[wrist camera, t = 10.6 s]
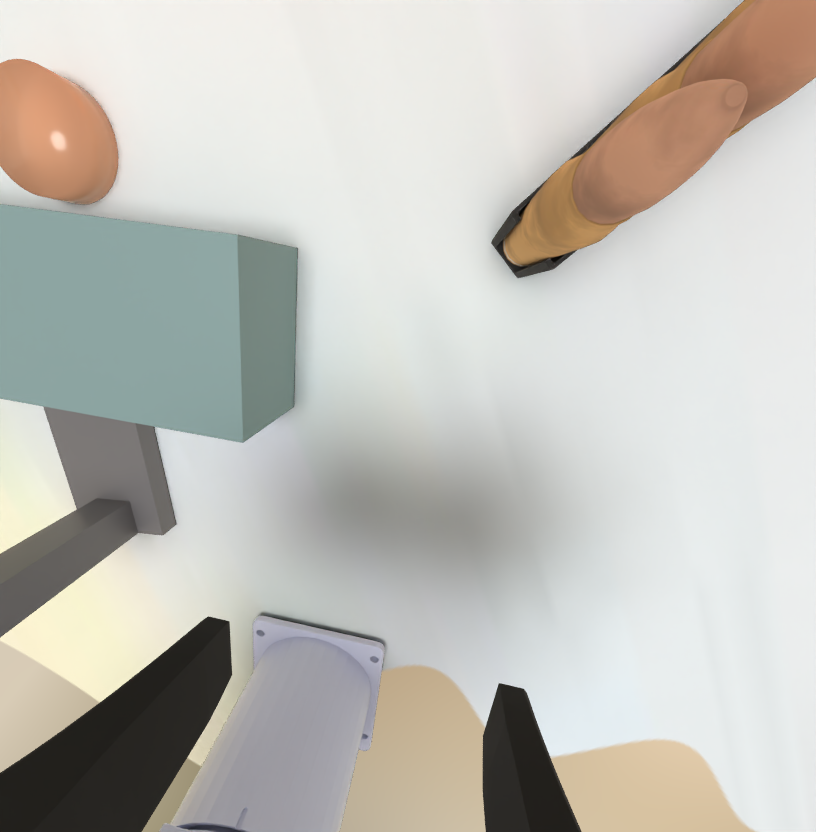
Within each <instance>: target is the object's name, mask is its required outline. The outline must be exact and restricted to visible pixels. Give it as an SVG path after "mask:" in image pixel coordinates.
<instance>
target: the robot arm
mask: <svg viewBox="0 0 816 832" xmlns="http://www.w3.org/2000/svg"><path fill="white" fill-rule="evenodd" d="M253 652H254V671H253V673H252V675H251V677H250V679H249V681H248V682H247V684H246V686H245V688H244V690H243V692H242V693H241V695H240V697H239V699H238V701H237V703H236V704H235V706H234V708H233V710H232V712H231V713H230V715H229V717H228V719H227V721H226V723H225V724H224V726H223V728H222V730H221V732H220V734H219V735H218V737H217V739H216V741H215V743H214V745H213V746H212V748H211V750H210V752H209V754H208V755H207V757H206V759H205V761H204V763H203V765H202V766H201V768H200V770H199V772H198V774H197V776H196V778H195V779H194V781H193V783H192V785H191V787H190V788H189V790H188V792H187V794H186V796H185V797H184V799H183V801H182V803H181V805H180V807H179V809H178V810H177V812H176V814H175V816H174V818H173V820H172V821H171V823H170V824H167V823H165V824H163V825H162V827H161V829H160V831H159V832H340V829H341V824H342V820H343V815H344V811H345V807H346V802H347V798H348V793H349V789H350V785H351V781H352V776H353V771H354V768H355V763H356V759H357V754H358V750H363V751H367V750H369V749H370V746H371V742H372V735H373V728H374V721H375V714H376V707H377V699H378V693H379V686H380V679H381V672H382V665H383V659H384V652H385V647H384V646H383V644H381V643H380V642H377V641H373V640H369V639H364V638H360V637H355V636H351V635H346V634H342V633H337V632H333V631H329V630H324V629H320V628H315V627H311V626H306V625H302V624H298V623H293V622H289V621H284V620H280V619H275V618H271V617H267V616H258V617H257V618H256V619H255V621H254V622H253ZM231 676H232V665H231V645H230V625H229V621H225V620H221V619H217V618H212V617H207V618H205V619H204V620H203V621H201V622H200V623H199V624H198V625H197V626H195V627H194V628H193V629H192V630H190V631H189V632H188V633H187V634H186V635H184V636H183V637H182V638H181V639H180V640H178V641H177V642H176V643H175V644H174V645H172V646H171V647H170V648H169V649H167V650H166V651H165V652H164V653H163V654H161V655H160V656H159V657H158V658H156V659H155V660H154V661H153V662H151V663H150V664H149V665H148V666H146V667H145V668H144V669H143V670H141V671H140V672H139V673H138V674H136V675H135V676H134V677H133V678H131V679H130V680H129V681H127V682H126V683H125V684H124V685H122V686H121V687H120V688H119V689H117V690H116V691H115V692H113V693H112V694H111V695H109V696H108V697H107V698H106V699H104V700H103V701H102V702H100V703H99V704H98V705H96V706H95V707H93V708H92V709H91V710H89V711H88V712H87V713H85V714H84V715H83V716H81V717H80V718H79V719H77V720H76V721H74V722H73V723H72V724H70V725H69V726H68V727H66V728H65V729H64V730H62V731H61V732H59V733H58V734H57V735H55V736H54V737H52V738H51V739H50V740H48V741H47V742H45V743H44V744H42V745H41V746H39V747H38V748H37V749H35V750H34V751H32V752H31V753H29V754H28V755H26V756H25V757H23V758H22V759H21V760H19V761H17V762H16V763H14V764H13V765H11V766H10V767H9V768H7V769H6V770H4V771H2V772H1V773H0V832H142V830H143V828H144V827H145V825H146V824H147V822H148V820H149V819H150V817H151V815H152V814H153V812H154V811H155V809H156V807H157V806H158V804H159V802H160V801H161V799H162V798H163V796H164V794H165V793H166V791H167V789H168V788H169V786H170V784H171V783H172V781H173V779H174V778H175V776H176V775H177V773H178V771H179V770H180V768H181V767H182V765H183V763H184V762H185V760H186V759H187V757H188V755H189V754H190V752H191V750H192V749H193V747H194V745H195V744H196V742H197V740H198V739H199V737H200V735H201V734H202V732H203V731H204V729H205V727H206V725H207V724H208V722H209V720H210V719H211V717H212V715H213V713H214V711H215V709H216V707H217V705H218V703H219V701H220V699H221V697H222V695H223V693H224V690H225V688H226V686H227V684H228V682H229V680H230V678H231ZM483 800H484V812H485V813H484V814H485V826H486V832H581V830H580V827H579V825H578V823H577V820H576V818H575V816H574V813H573V811H572V809H571V807H570V804H569V802H568V799H567V797H566V795H565V792H564V790H563V788H562V785H561V783H560V781H559V778H558V776H557V773H556V771H555V769H554V766H553V763H552V761H551V758H550V756H549V753H548V751H547V748H546V745H545V743H544V740H543V738H542V735H541V732H540V730H539V727H538V724H537V721H536V719H535V716H534V713H533V710H532V707H531V704H530V701H529V698H528V695H527V693H526V691H525V690H524V689H522V688H518V687H513V686H509V685H505V684H500V683H499V685H498V688H497V691H496V695H495V698H494V701H493V705H492V708H491V711H490V715H489V718H488V721H487V724H486V728H485V731H484V735H483Z"/></svg>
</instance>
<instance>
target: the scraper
mask: <svg viewBox="0 0 816 832" xmlns="http://www.w3.org/2000/svg"><path fill="white" fill-rule="evenodd" d="M43 407H44V406H43ZM44 410H45V413H46V416H47V419H48V422H49V425H50V428H51V431H52V434H53V437H54V440H55V444H56V447H57V450H58V453H59V456H60V459H61V462H62V465H63V468H64V471H65V474H66V477H67V480H68V483H69V486H70V489H71V493H72V496H73V499H74V502H75V505H76V508H77V510H76V511H74V512H72V513H70V514H69V515H67V516H65V517H63V518H62V519H60V520H58V521H56V522H55V523H53V524H51V525H50V526H48V527H46V528H44V529H43V530H41V531H39V532H37V533H36V534H34V535H32V536H30V537H29V538H27V539H25V540H24V541H22V542H20V543H18V544H17V545H15V546H13V547H11V548H10V549H8V550H6V551H4V552H3V553H1V554H0V637H1V636H3V635H4V634H5V633H7V632H8V631H9V630H11V629H12V628H13V627H15V626H16V625H17V624H18V623H20V622H21V621H22V620H24V619H25V618H26V617H28V616H29V615H30V614H32V613H33V612H34V611H36V610H37V609H38V608H40V607H41V606H42V605H44V604H45V603H46V602H48V601H49V600H50V599H52V598H53V597H54V596H56V595H57V594H58V593H59V592H61V591H62V590H63V589H65V588H66V587H67V586H69V585H70V584H71V583H73V582H74V581H75V580H77V579H78V578H79V577H81V576H82V575H83V574H85V573H86V572H87V571H89V570H90V569H91V568H93V567H94V566H95V565H96V564H98V563H99V562H100V561H102V560H103V559H104V558H106V557H107V556H108V555H110V554H111V553H112V552H114V551H115V550H116V549H118V548H119V547H120V546H122V545H123V544H124V543H126V542H127V541H128V540H130V539H131V538H132V537H133V536H135V535H136V534H137V533H145V534H154V535H164V534H165V533H166V532H168V531H169V530H170V529H171V528H173V527H174V526H175V525H176V522H175V518H174V513H173V509H172V505H171V500H170V496H169V492H168V487H167V483H166V478H165V474H164V470H163V465H162V461H161V457H160V452H159V448H158V444H157V439H156V435H155V431H154V426H148V425H143V424H137V423H132V422H126V421H121V420H115V419H110V418H104V417H99V416H94V415H88V414H83V413H77V412H72V411H66V410H61V409H55V408H50V407H44Z"/></svg>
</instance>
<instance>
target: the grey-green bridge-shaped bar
mask: <svg viewBox="0 0 816 832" xmlns="http://www.w3.org/2000/svg"><path fill="white" fill-rule="evenodd" d="M296 286H297V248H294V247H290V246H285V245H281V244H277V243H272V242H268V241H263V240H259V239H254V238H250V237H245V236H241V235H236V234H228V233H220V232H212V231H205V230H197V229H189V228H181V227H174V226H166V225H158V224H150V223H143V222H135V221H127V220H119V219H112V218H104V217H96V216H88V215H81V214H73V213H65V212H57V211H50V210H42V209H34V208H26V207H19V206H11V205H3V204H0V399H6V400H11V401H17V402H22V403H28V404H33V405H39V406H44V407H50V408H55V409H61V410H66V411H72V412H77V413H83V414H88V415H94V416H99V417H104V418H110V419H115V420H121V421H126V422H132V423H137V424H143V425H148V426H154V427H159V428H165V429H170V430H176V431H181V432H187V433H192V434H198V435H203V436H209V437H214V438H220V439H225V440H231V441H236V442H242V443H243V442H245V441H246V440H248V439H249V438H250V437H252V436H253V435H255V434H256V433H257V432H259V431H260V430H262V429H263V428H265V427H266V426H267V425H269V424H270V423H272V422H273V421H274V420H276V419H277V418H279V417H280V416H281V415H283V414H284V413H286V412H287V411H289V410H290V409H291V408H293V407H294V374H295V330H296Z"/></svg>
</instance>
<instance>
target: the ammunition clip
mask: <svg viewBox="0 0 816 832" xmlns="http://www.w3.org/2000/svg"><path fill="white" fill-rule="evenodd" d="M814 78H816V0H744V1H743V2H742V3H741V4H740V5H739V6H738V7H737V8H736V9H734V10H733V11H732V12H731V13H730V14H729V15H728V16H727V17H726V18H725V19H724V20H723V21H722V22H721V23H720V24H719V25H717V26H716V27H715V28H714V29H713V30H712V31H711V32H710V33H709V34H708V35H706V36H705V37H704V38H703V39H702V40H701V41H700V42H699V43H698V44H696V45H695V46H694V47H693V48H692V49H691V50H690V51H689V52H688V53H687V54H685V55H684V56H683V57H682V58H681V59H680V60H679V61H678V62H677V63H675V64H674V65H673V66H672V67H671V68H670V69H669V70H668V71H667V72H666V73H664V74H663V75H662V76H661V77H660V78H659V79H658V80H657V81H655V82H654V83H653V84H652V85H650V86H649V87H648V88H647V89H646V90H645V91H644V92H643V93H642V94H641V95H639V96H638V97H637V98H636V99H635V100H634V101H633V102H632V103H631V104H630V105H629V106H628V107H627V108H626V109H625V110H624V111H622V112H621V113H620V114H619V115H618V116H617V117H616V118H615V119H614V120H612V121H611V122H610V123H609V124H608V125H607V126H606V127H605V128H604V129H603V130H601V131H600V132H599V133H598V134H597V135H596V136H595V137H594V138H593V139H591V140H590V141H589V142H588V143H587V144H586V145H585V146H584V147H583V148H582V149H580V150H579V151H578V152H577V153H576V154H575V155H574V156H573V157H572V158H570V159H569V160H568V161H566V162H565V163H564V164H563V165H562V166H561V167H560V168H559V169H558V170H557V171H555V172H554V173H553V174H552V175H551V176H550V177H549V178H548V179H547V180H546V181H545V182H544V183H543V184H542V185H541V186H540V187H538V188H537V189H536V190H535V191H534V192H533V193H532V194H531V195H530V196H528V197H527V198H526V199H525V200H524V201H523V202H522V203H521V204H520V205H519V206H517V207H516V208H515V209H514V210H513V211H512V212H511V214H510V215H509V217H508V218H507V220H506V221H505V222H504V224H503V225H502V227H501V228H500V230H499V231H498V233H497V234H496V235H495V237H494V238H493V240H492V244H493V246H494V247H495V248H496V250H497V251H498V252H499V254H500V255H501V256H502V258H503V259H504V261H505V262H506V263H507V265H508V266H509V267H510V269H511V270H512V271H513V273H514V274H515V275H516V277H517V278H521V277H525V276H529V275H533V274H537V273H541V272H545V271H549V270H552V269H554V268H556V267H557V266H558V265H559V264H561V263H562V262H563V261H564V260H566V259H567V258H568V257H569V256H570V255H572V254H573V253H574V252H575V251H577V250H578V249H581V248H584V247H586V246H589V245H591V244H594V243H597V242H599V241H601V240H602V239H603V238H604V237H606V236H607V235H608V234H609V233H611V232H612V231H613V230H614V229H615V228H616V227H617V226H618V225H619V224H621V223H623V222H625V221H627V220H628V219H630V218H631V217H632V216H633V215H635V214H637V213H640V212H642V211H644V210H646V209H648V208H650V207H651V206H653V205H655V204H656V203H658V202H659V201H660V200H662V199H663V198H665V197H666V196H668V195H669V194H670V193H672V192H673V191H674V190H676V189H677V188H678V187H679V186H681V185H682V184H683V183H684V182H686V181H687V180H688V179H689V178H690V177H691V176H693V175H694V174H695V173H696V172H697V171H698V170H699V169H700V168H701V167H702V166H703V165H704V164H705V163H706V162H707V161H708V160H709V159H710V158H711V156H712V155H713V154H714V153H715V152H716V151H717V150H718V149H719V148H720V146H721V145H722V144H723V142H724V141H725V140H726V139H727V138H728V137H730V136H731V135H733V134H735V133H736V132H738V131H739V130H740V129H742V128H743V127H744V126H745V125H747V124H748V123H749V122H750V121H752V120H753V119H755V118H757V117H758V116H760V115H762V114H763V113H765V112H767V111H768V110H770V109H772V108H773V107H775V106H777V105H778V104H780V103H781V102H783V101H784V100H786V99H787V98H788V97H790V96H791V95H793V94H794V93H795V92H797V91H798V90H799V89H801V88H802V87H803V86H805V85H806V84H807V83H809V82H810V81H812V80H813V79H814Z"/></svg>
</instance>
